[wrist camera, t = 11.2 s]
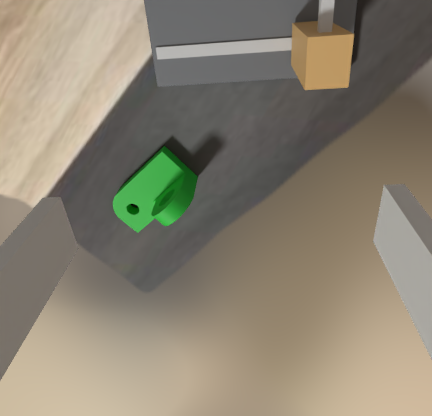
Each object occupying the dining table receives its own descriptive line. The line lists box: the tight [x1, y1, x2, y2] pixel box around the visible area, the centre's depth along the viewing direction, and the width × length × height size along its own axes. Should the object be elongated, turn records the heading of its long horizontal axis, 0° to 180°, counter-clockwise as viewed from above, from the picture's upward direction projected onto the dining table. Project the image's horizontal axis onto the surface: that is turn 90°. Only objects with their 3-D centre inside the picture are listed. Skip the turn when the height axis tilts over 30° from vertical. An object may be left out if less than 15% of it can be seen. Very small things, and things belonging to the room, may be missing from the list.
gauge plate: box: [144, 0, 357, 87], centre depth 37 cm, size 13×21×4 cm, turn 94°
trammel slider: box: [291, 0, 354, 90], centre depth 32 cm, size 9×4×10 cm, turn 4°
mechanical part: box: [113, 146, 198, 233], centre depth 47 cm, size 12×6×8 cm, turn 134°
